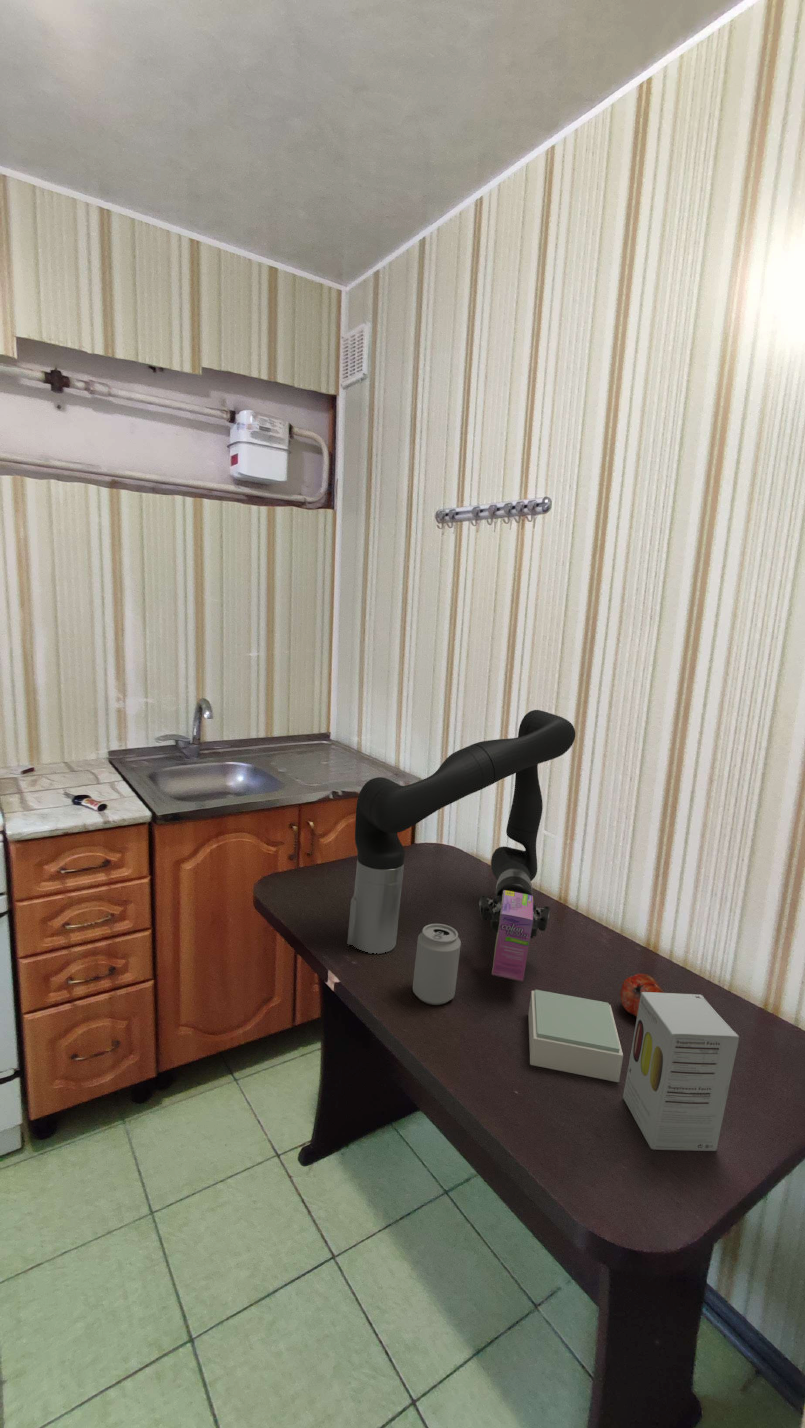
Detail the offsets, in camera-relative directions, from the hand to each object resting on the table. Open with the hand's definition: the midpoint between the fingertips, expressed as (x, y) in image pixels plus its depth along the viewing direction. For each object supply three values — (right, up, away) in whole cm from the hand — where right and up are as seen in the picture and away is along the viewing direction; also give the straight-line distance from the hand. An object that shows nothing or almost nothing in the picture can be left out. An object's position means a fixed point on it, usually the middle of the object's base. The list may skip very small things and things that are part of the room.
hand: (514, 930), depth 117 cm
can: (-15, -10, -3) cm, 18 cm away
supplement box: (+16, -17, -28) cm, 37 cm away
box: (-1, -7, +2) cm, 7 cm away
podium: (+7, -14, -14) cm, 21 cm away
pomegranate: (+22, -14, -3) cm, 26 cm away
